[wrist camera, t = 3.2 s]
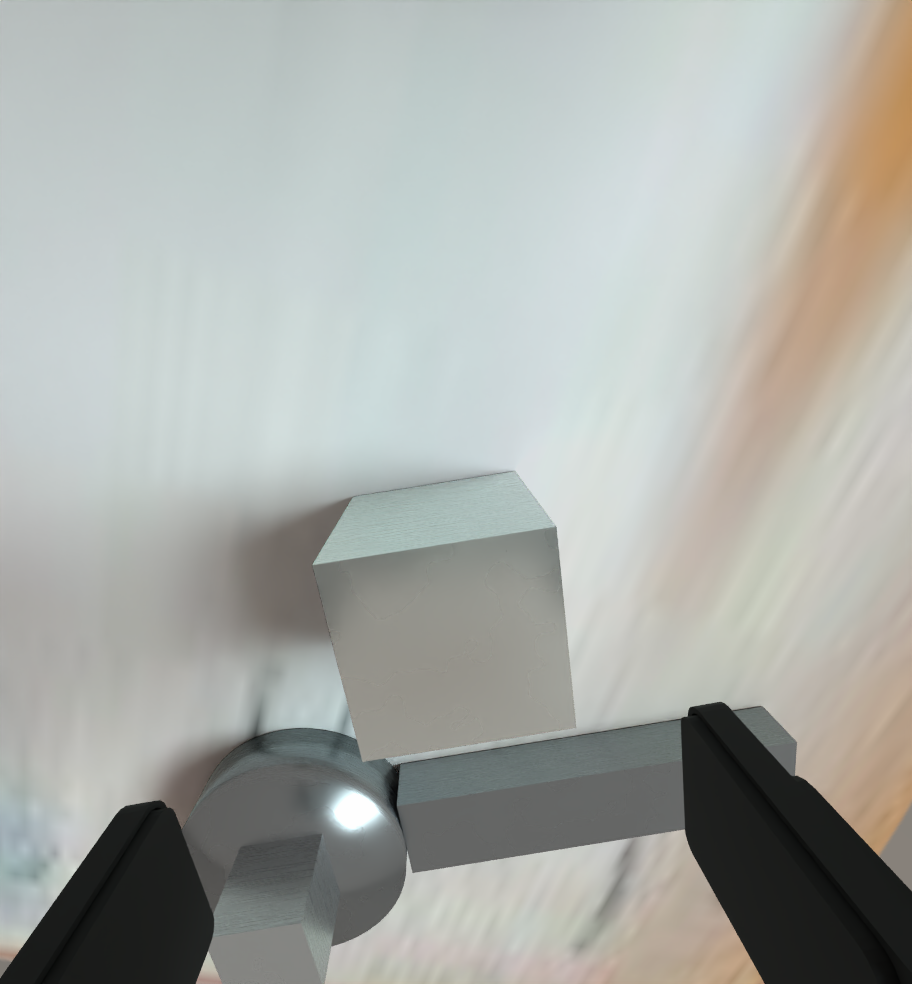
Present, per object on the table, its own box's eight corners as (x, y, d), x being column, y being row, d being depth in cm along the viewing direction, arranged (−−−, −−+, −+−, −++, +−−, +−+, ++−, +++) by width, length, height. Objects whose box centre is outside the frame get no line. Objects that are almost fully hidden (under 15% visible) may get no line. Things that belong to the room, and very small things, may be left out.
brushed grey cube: (515, 470, 17) (555, 526, 11) (532, 615, 19) (576, 727, 13) (353, 496, 17) (312, 565, 11) (384, 638, 19) (362, 762, 13)
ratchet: (764, 653, 20) (884, 759, 15) (759, 816, 22) (860, 959, 17) (176, 746, 20) (82, 888, 14) (235, 900, 22) (173, 1069, 17)
